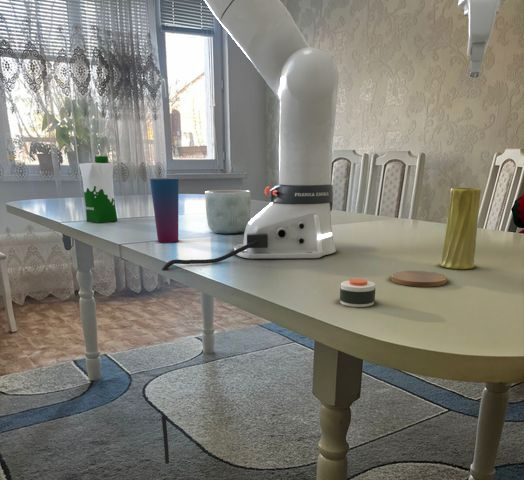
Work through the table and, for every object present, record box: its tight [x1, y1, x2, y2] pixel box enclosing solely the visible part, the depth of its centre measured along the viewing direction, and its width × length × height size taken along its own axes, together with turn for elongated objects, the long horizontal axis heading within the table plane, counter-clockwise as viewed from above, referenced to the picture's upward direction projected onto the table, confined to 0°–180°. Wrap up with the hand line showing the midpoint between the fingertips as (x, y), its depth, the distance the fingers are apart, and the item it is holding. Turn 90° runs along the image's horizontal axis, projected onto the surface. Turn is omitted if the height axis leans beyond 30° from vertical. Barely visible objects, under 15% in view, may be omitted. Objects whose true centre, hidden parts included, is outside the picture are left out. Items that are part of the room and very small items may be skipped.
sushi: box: [339, 278, 376, 308], centre depth 78 cm, size 5×5×3 cm
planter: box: [204, 189, 252, 235], centre depth 148 cm, size 12×12×11 cm
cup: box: [149, 177, 179, 244], centre depth 133 cm, size 7×7×15 cm
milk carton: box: [78, 155, 118, 224], centre depth 174 cm, size 9×9×20 cm
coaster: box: [391, 270, 448, 288], centre depth 92 cm, size 9×9×1 cm
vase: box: [440, 187, 482, 270], centre depth 101 cm, size 6×6×14 cm
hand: (474, 75), depth 107 cm, fingers open, 8 cm apart
